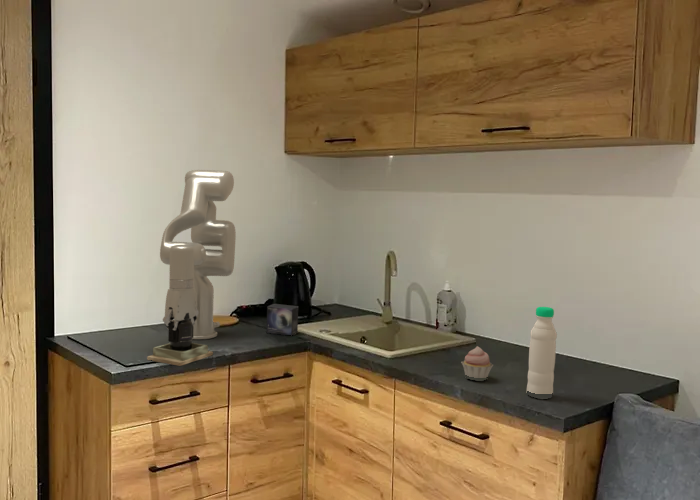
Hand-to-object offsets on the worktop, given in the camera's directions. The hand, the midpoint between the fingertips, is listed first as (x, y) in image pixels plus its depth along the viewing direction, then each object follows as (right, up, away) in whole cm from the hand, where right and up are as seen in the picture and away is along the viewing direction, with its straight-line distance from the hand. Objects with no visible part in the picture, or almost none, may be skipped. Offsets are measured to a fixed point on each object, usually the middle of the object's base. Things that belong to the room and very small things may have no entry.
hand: (181, 339), depth 216 cm
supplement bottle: (0, -3, 0) cm, 3 cm away
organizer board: (0, -6, 0) cm, 6 cm away
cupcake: (+91, -11, -12) cm, 93 cm away
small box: (+28, -3, +40) cm, 49 cm away
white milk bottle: (+106, -13, -27) cm, 110 cm away
